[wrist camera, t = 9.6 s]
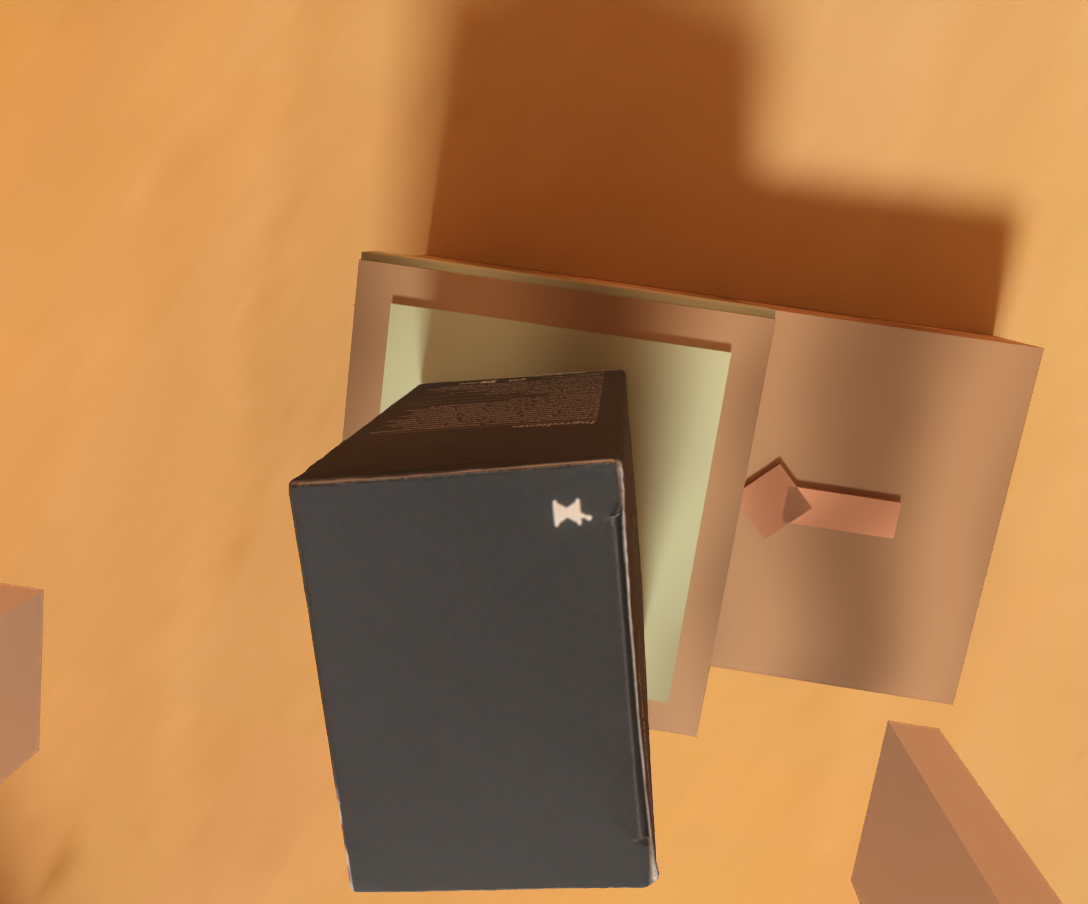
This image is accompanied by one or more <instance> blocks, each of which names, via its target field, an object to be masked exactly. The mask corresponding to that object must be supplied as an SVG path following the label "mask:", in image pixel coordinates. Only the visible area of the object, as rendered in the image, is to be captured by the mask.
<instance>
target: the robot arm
mask: <svg viewBox="0 0 1088 904" xmlns="http://www.w3.org/2000/svg"><path fill="white" fill-rule="evenodd" d="M43 596H44V590H42V589H35V588H29V587H22V586H16V585H9V584H3V583H0V784H1V783H2V782H3V781H4V780H6V779H7V778H8V777H9V776H10V775H11V774H12V773H14V772H15V771H16V770H17V769H18V768H19V767H20V766H21V765H23V764H24V763H25V762H26V761H27V760H28V759H29V758H31V757H32V756H33V755H34V754H35V753H36V752H37V751H38V750H39V736H40V701H41V666H42V631H43ZM851 882H852V884H853V887H854V889H855V892H856V894H857V897H858V899H859V902H860V904H1063V903H1062V902H1061V901H1060V899H1059V898H1058V896H1057V895H1056V894H1055V892H1054V891H1053V889H1052V888H1051V887H1050V885H1049V884H1048V882H1047V881H1046V879H1045V878H1044V877H1043V875H1042V874H1041V872H1040V871H1039V870H1038V868H1037V867H1036V865H1035V864H1034V862H1033V861H1032V860H1031V858H1030V857H1029V855H1028V854H1027V853H1026V851H1025V850H1024V848H1023V847H1022V845H1021V844H1020V843H1019V841H1018V840H1017V838H1016V837H1015V836H1014V834H1013V833H1012V831H1011V830H1010V829H1009V827H1008V826H1007V824H1006V823H1005V821H1004V820H1003V819H1002V817H1001V816H1000V814H999V813H998V812H997V810H996V809H995V807H994V806H993V804H992V803H991V802H990V800H989V799H988V797H987V796H986V795H985V793H984V792H983V790H982V789H981V787H980V786H979V785H978V783H977V782H976V780H975V779H974V778H973V776H972V775H971V773H970V772H969V771H968V769H967V768H966V766H965V765H964V763H963V762H962V761H961V759H960V758H959V756H958V755H957V754H956V752H955V751H954V749H953V748H952V746H951V745H950V744H949V742H948V741H947V739H946V738H945V737H944V735H943V734H942V732H941V731H940V729H939V728H932V727H926V726H919V725H913V724H906V723H900V722H893V721H888V723H887V727H886V732H885V736H884V740H883V745H882V749H881V753H880V757H879V762H878V766H877V770H876V775H875V779H874V783H873V787H872V792H871V796H870V800H869V805H868V809H867V813H866V817H865V822H864V826H863V830H862V834H861V839H860V843H859V847H858V852H857V856H856V860H855V864H854V869H853V873H852V877H851Z"/></svg>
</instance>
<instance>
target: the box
mask: <svg viewBox="0 0 1088 904" xmlns="http://www.w3.org/2000/svg"><path fill="white" fill-rule="evenodd" d="M289 496H290V502H291V508H292V514H293V521H294V527H295V533H296V540H297V546H298V551H299V557H300V563H301V570H302V576H303V583H304V590H305V596H306V601H307V606H308V613H309V620H310V627H311V633H312V640H313V646H314V653H315V659H316V665H317V671H318V678H319V685H320V691H321V698H322V704H323V710H324V716H325V724H326V730H327V735H328V741H329V748H330V755H331V762H332V768H333V775H334V781H335V787H336V793H337V800H338V806H339V813H340V819H341V826H342V830H343V837H344V844H345V852H346V860H347V867H348V873H349V881H350V887H351V889H352V890H353V891H354V892H424V891H461V890H517V889H548V888H609V887H613V888H643V887H647V886H649V885H650V884H652V883H654V882H655V881H656V880H657V879H658V876H659V871H658V867H657V862H656V847H655V829H654V816H653V799H652V782H651V763H650V744H649V723H648V701H647V676H646V659H645V641H644V617H643V594H642V575H641V561H640V546H639V534H638V520H637V506H636V494H635V481H634V469H633V457H632V445H631V433H630V423H629V412H628V401H627V387H626V374H625V372H624V371H623V370H621V369H614V370H601V371H586V372H571V373H557V374H543V375H535V376H522V377H505V378H493V379H480V380H467V381H453V382H431V383H426V384H420V385H418V386H417V387H416V388H414V389H413V390H412V391H410V392H409V393H408V394H406V395H405V396H403V397H402V398H401V399H399V400H398V401H397V402H395V403H394V404H392V405H391V406H390V407H389V408H388V409H386V410H385V411H383V412H382V413H381V414H379V415H378V416H377V417H376V418H374V419H373V420H372V421H371V422H369V423H368V424H367V425H365V426H364V427H362V428H361V429H360V430H358V431H357V432H356V433H354V434H353V435H352V436H351V437H349V438H348V439H346V440H344V441H343V442H342V443H340V445H339V446H337V447H335V448H334V449H333V450H331V451H330V452H329V453H328V454H327V455H325V456H324V457H323V458H322V459H320V460H318V461H317V462H316V463H314V464H313V465H311V466H310V467H309V468H308V469H307V470H306V472H304V473H303V474H301V475H300V476H298V477H296V478H295V479H293V480H291V482H290V483H289Z"/></svg>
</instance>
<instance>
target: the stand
mask: <svg viewBox="0 0 1088 904" xmlns="http://www.w3.org/2000/svg"><path fill="white" fill-rule="evenodd" d="M1043 350H1044V348H1040V347H1036V346H1032V345H1028V344H1024V343H1020V342H1016V341H1012V340H1008V339H1004V338H1000V337H996V336H990V335H983V334H976V333H969V332H962V331H955V330H948V329H941V328H934V327H927V326H920V325H913V324H906V323H899V322H892V321H885V320H878V319H871V318H864V317H857V316H850V315H843V314H836V313H829V312H822V311H815V310H808V309H801V308H794V307H787V306H780V305H773V304H766V303H759V302H752V301H745V300H738V299H731V298H724V297H717V296H710V295H703V294H696V293H689V292H682V291H675V290H668V289H661V288H654V287H647V286H640V285H633V284H626V283H619V282H612V281H604V280H597V279H590V278H583V277H576V276H569V275H562V274H555V273H548V272H541V271H534V270H527V269H520V268H513V267H506V266H499V265H492V264H485V263H478V262H471V261H464V260H457V259H450V258H443V257H436V256H429V255H419V256H407V255H400V254H393V253H386V252H379V251H369V252H362V255H361V259H360V260H359V266H358V277H357V288H356V299H355V310H354V321H353V332H352V343H351V353H350V364H349V375H348V386H347V397H346V408H345V419H344V430H343V441H344V440H346V439H348V438H349V437H351V436H352V435H353V434H354V433H356V432H357V431H358V430H360V429H361V428H362V427H364V426H365V425H367V424H368V423H369V422H371V421H372V420H373V419H374V418H376V417H377V416H378V415H379V414H381V413H382V412H383V411H385V410H386V409H388V408H389V407H390V406H391V405H392V404H394V403H395V402H397V401H398V400H399V399H401V398H402V397H403V396H405V395H406V394H408V393H409V392H410V391H412V390H413V389H414V388H416V387H417V386H418V385H420V384H426V383H431V382H453V381H467V380H480V379H493V378H505V377H522V376H535V375H543V374H557V373H571V372H586V371H601V370H614V369H621V370H623V371H624V372H625V374H626V387H627V401H628V412H629V423H630V433H631V445H632V457H633V469H634V481H635V494H636V506H637V520H638V534H639V546H640V561H641V575H642V594H643V617H644V641H645V659H646V676H647V701H648V723H649V729H652V730H658V731H664V732H670V733H677V734H683V735H689V736H695V737H697V732H698V727H699V721H700V716H701V711H702V706H703V700H704V695H705V690H706V685H707V679H708V674H709V669H710V666H713V667H719V668H726V669H732V670H738V671H745V672H751V673H757V674H763V675H770V676H776V677H782V678H788V679H795V680H801V681H807V682H814V683H820V684H826V685H832V686H839V687H845V688H851V689H858V690H864V691H870V692H876V693H883V694H889V695H895V696H901V697H908V698H914V699H920V700H927V701H933V702H939V703H945V704H952V705H953V702H954V699H955V695H956V691H957V687H958V683H959V679H960V675H961V671H962V667H963V663H964V659H965V655H966V652H967V648H968V644H969V640H970V636H971V632H972V628H973V624H974V620H975V616H976V612H977V608H978V605H979V601H980V597H981V593H982V589H983V585H984V581H985V577H986V573H987V569H988V565H989V561H990V557H991V554H992V550H993V546H994V542H995V538H996V534H997V530H998V526H999V522H1000V518H1001V514H1002V510H1003V507H1004V503H1005V499H1006V495H1007V491H1008V487H1009V483H1010V479H1011V475H1012V471H1013V467H1014V463H1015V460H1016V456H1017V452H1018V448H1019V444H1020V440H1021V436H1022V432H1023V428H1024V424H1025V420H1026V416H1027V413H1028V409H1029V405H1030V401H1031V397H1032V393H1033V389H1034V385H1035V381H1036V377H1037V373H1038V369H1039V365H1040V362H1041V358H1042V354H1043ZM343 441H342V442H343Z"/></svg>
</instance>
